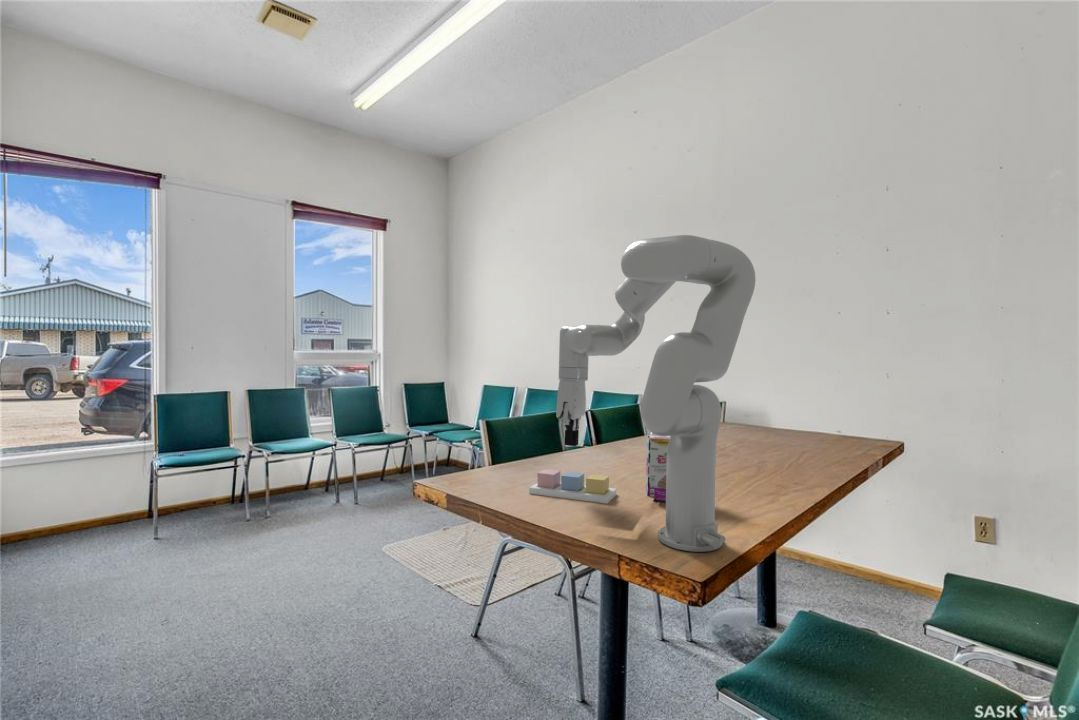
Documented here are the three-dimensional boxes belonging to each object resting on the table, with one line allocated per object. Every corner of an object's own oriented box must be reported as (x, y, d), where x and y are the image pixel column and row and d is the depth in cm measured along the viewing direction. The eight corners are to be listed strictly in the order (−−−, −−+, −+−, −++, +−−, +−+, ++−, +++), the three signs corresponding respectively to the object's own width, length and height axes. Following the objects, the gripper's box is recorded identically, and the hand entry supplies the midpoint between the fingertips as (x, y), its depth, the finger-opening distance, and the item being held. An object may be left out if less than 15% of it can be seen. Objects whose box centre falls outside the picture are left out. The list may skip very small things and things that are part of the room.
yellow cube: (608, 495, 130) (608, 476, 130) (603, 500, 126) (603, 480, 125) (591, 493, 132) (591, 474, 131) (585, 498, 127) (586, 478, 127)
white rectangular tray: (616, 500, 131) (616, 488, 131) (607, 509, 123) (607, 497, 123) (541, 490, 139) (541, 480, 139) (529, 499, 131) (529, 487, 131)
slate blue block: (584, 492, 132) (584, 473, 132) (578, 497, 128) (578, 477, 128) (567, 490, 134) (567, 471, 134) (561, 495, 130) (561, 475, 130)
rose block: (560, 489, 135) (560, 471, 135) (553, 494, 131) (554, 474, 131) (544, 487, 137) (544, 469, 137) (537, 492, 133) (537, 473, 132)
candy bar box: (647, 502, 129) (648, 438, 129) (645, 496, 134) (646, 434, 134) (692, 504, 128) (693, 439, 128) (688, 498, 133) (689, 435, 133)
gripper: (569, 372, 139) (567, 438, 140) (548, 375, 125) (546, 449, 126) (595, 373, 136) (593, 441, 137) (577, 376, 122) (575, 452, 123)
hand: (571, 445), depth 131 cm, fingers closed
